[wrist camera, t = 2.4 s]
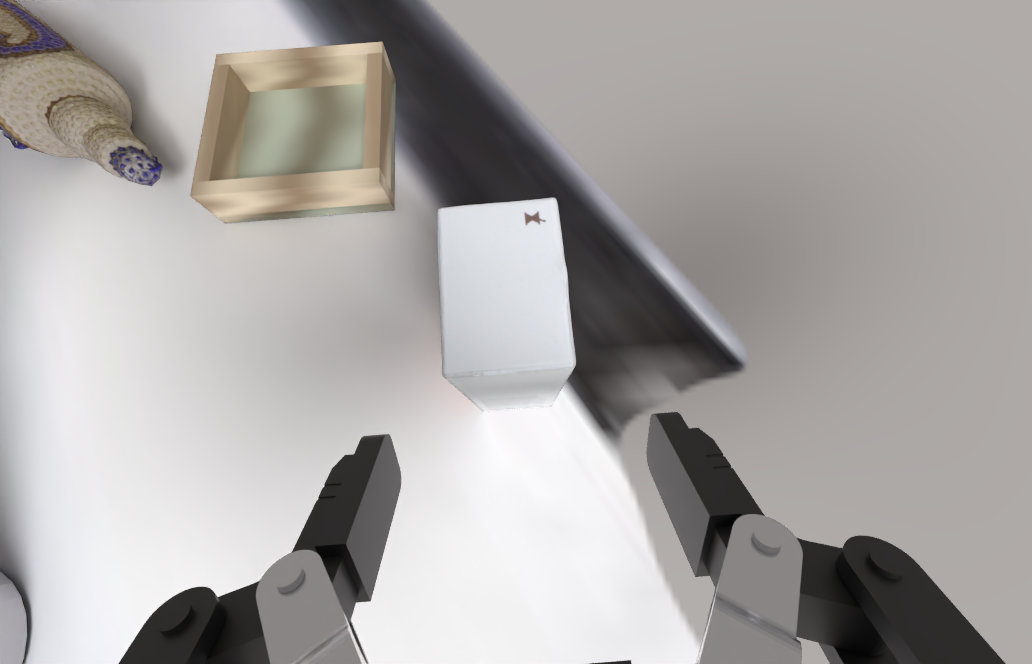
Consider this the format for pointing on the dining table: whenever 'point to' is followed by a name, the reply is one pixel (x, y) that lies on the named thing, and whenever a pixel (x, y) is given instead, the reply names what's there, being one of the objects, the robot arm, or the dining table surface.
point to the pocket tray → (298, 134)
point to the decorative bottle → (65, 100)
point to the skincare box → (504, 303)
